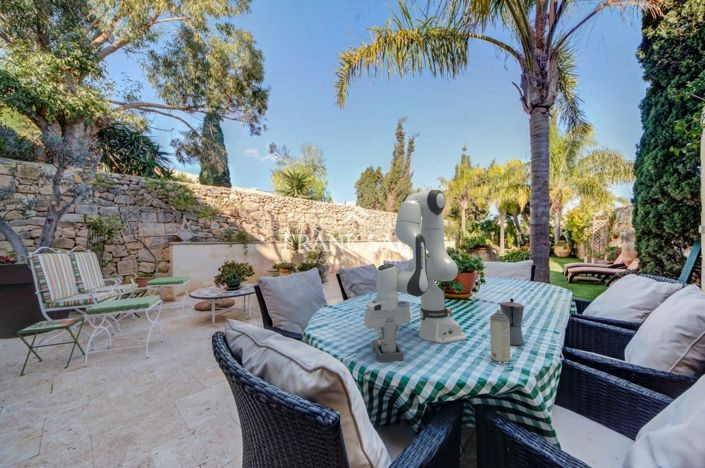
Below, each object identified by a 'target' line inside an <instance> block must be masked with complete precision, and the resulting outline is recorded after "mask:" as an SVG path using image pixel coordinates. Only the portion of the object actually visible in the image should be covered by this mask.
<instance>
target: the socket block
mask: <svg viewBox="0 0 705 468" xmlns="http://www.w3.org/2000/svg"><path fill="white" fill-rule="evenodd" d="M371 342H372V348H373V350H374V353H375V355H376V357H377V359H378V363H389V362H390V363H391V362H402V361H404V352H403V351H402V349H401V347H400V346H399V345H398V343H397V342H396V351H395V353H388V354H384V353H383V351H382V345H381V339H373V340H372V341H371Z"/></svg>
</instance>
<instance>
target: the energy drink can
mask: <svg viewBox="0 0 705 468" xmlns="http://www.w3.org/2000/svg"><path fill="white" fill-rule="evenodd" d="M395 329H396V325H395V321H394V319H393V318H388V319H386V321H385V326H384V327H380V332H381V333H383V335H382V336H383V337H381V338H380V340H381V345H382V351H383V352H382V354H388V353H396V343H397V339H396V337H397V335H396V333H395Z"/></svg>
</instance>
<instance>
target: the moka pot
mask: <svg viewBox="0 0 705 468" xmlns="http://www.w3.org/2000/svg"><path fill="white" fill-rule="evenodd" d="M499 306H500V307H499V308H500V309H501V310H502V312H503V313H504V314H505V315H506V317H508V318H509V324H510V346H511V345H512V346H522V345H524V336H523V331H522V322H523V317H524V309H525V306H524V305H523V304H521V303H519V302H514V298H511V297H510V298H509V301H504V302H503V301H502V302H500V303H499Z"/></svg>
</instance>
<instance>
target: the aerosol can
mask: <svg viewBox="0 0 705 468" xmlns="http://www.w3.org/2000/svg"><path fill="white" fill-rule="evenodd" d="M489 325H490V326H489V329H490V358H491V360H492V361H493V360H494V361H493V362H495V361H496V362H495V363H497V362H501V363H500V364H502V363H504V362H505V363H506V362H510V363H511V344H510V324H509V318H508V317H506V315H505V314H504V313H503V312H502V310H501V308H497V309H496V311H495V312H494V313H493V314H492V315H490V318H489Z"/></svg>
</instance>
